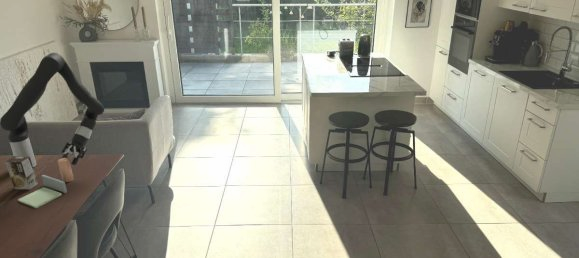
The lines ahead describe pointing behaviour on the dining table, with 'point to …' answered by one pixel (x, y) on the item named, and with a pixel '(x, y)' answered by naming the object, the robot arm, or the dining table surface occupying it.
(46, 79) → the robot arm
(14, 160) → the coffee box
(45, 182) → the low wall
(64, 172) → the peach rounded cylinder
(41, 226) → the dining table surface
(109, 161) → the dining table surface
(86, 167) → the dining table surface
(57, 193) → the pad
